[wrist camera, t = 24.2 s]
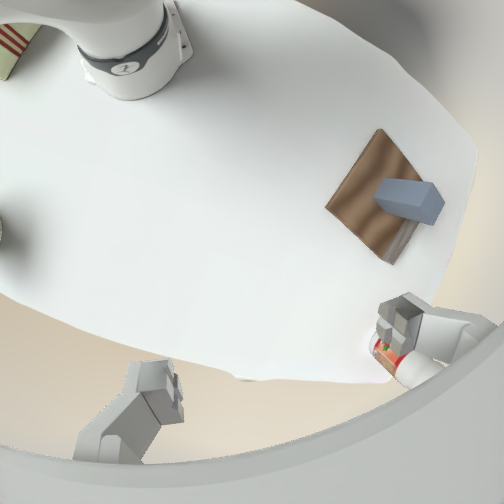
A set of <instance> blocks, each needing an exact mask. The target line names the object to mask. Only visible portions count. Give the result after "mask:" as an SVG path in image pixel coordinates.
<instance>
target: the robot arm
mask: <svg viewBox="0 0 504 504" xmlns="http://www.w3.org/2000/svg"><path fill="white" fill-rule="evenodd" d="M8 23H35V24H42V25H47V26H51V27H55V28H57V29H60V30H61V31H63V32H64V33H66V34H67V35H68V36H69V37H70V38H71V39H72V40H73V41H74V42H75V43H76V44H77V46H78V49H79V51H80V53H81V55H82V57H83V58H82V59H81V63H82V65H83V67H84V68H85V70H86V72H85V79H86V81H87V82H88V83H91V84H94V85H98V86H100V87H101V88H102V89H103V90H104V91H105V92H106V93H107V94H108V95H110V96H112V97H114V98H117V99H121V100H136V99H140V98H144V97H147V96H149V95H151V94H153V93H155V92H157V91H158V90H160V89H161V88H162V87H164V86H165V85H166V84H167V83H168V82H169V81H170V80H171V78H172V77H173V76H174V74H175V72H176V71H177V69H178V68H179V66H180V65H181V64H183V63H184V62H186V61H187V60H188V59H189V58H191V56H192V55H193V49H192V46H191V44H190V41H189V38H188V36H187V33H186V31H185V28H184V26H183V23H182V21H181V18H180V16H179V13H178V11H177V8H176V6H175V3H174V1H173V0H0V25H2V24H8ZM183 46H186V48H182V47H183ZM378 313H379V315H380V318H379V319H378V321H377V327H376V329H377V333H378V336H379V338H380V339H381V340H382V341H383V342H384V343H388V344H390V349H391V350H392V351H393V352H394V353H395V354H396V355H397V356H398V357H401V356H403V355H405V354H407V353H409V352H411V351H413V350H415V351H416V352H418V353H421V354H423V355H426V356H429V357H431V358H434V359H437V360H439V361H442V362H445V363H447V364H450V365H449V366H448V367H446V368H444V369H443V370H441V371H440V372H438V373H437V374H435V375H434V376H432V377H431V378H429V379H428V380H426V381H424V382H423V383H421V384H419V385H418V386H416V387H414V388H413V389H411V390H409V391H407V392H406V393H404V394H402V395H400V396H398V397H397V398H395V399H393V400H391V401H389V402H387V403H385V404H383V405H381V406H379V407H377V408H375V409H373V410H371V411H369V412H367V413H364V414H362V415H360V416H358V417H355V418H353V419H351V420H348V421H346V422H344V423H341V424H338V425H336V426H333V427H331V428H328V429H325V430H323V431H320V432H317V433H315V434H311V435H309V436H305V437H302V438H299V439H296V440H293V441H289V442H286V443H282V444H279V445H275V446H271V447H267V448H263V449H260V450H255V451H250V452H246V453H241V454H236V455H231V456H225V457H219V458H213V459H205V460H198V461H188V462H178V463H163V464H144V463H143V462H142V461H141V459H142V457H143V455H144V454H145V452H146V451H147V449H148V447H149V446H150V444H151V443H152V441H153V440H154V438H155V436H156V435H157V433H158V431H159V430H160V428H161V425H167V424H176V423H182V422H184V410H183V406H182V405H181V401H182V400H183V392H182V387H181V383H180V380H179V377H178V375H177V374H175V373H174V366H173V363H172V361H171V359H170V358H163V359H156V360H147V361H139V362H131V363H129V365H128V368H127V373H126V377H125V382H124V387H123V392H122V394H118V395H117V396H116V397H115V398H114V399H113V400H112V401H111V402H110V403H109V404H108V405H107V406H106V407H105V408H104V409H103V410H102V411H101V412H100V413H99V414H98V415H97V416H96V417H95V418H94V419H93V420H92V421H91V422H90V423H89V424H88V425H86V427H84V428H83V429H82V430H81V431H80V432H79V434H78V438H77V442H76V447H75V451H74V456H73V460H69V459H61V458H56V457H50V456H45V455H40V454H35V453H31V452H27V451H23V450H19V449H16V448H12V447H9V446H6V445H3V444H0V504H504V322H503V323H502V324H500V325H499V326H497V325H495V324H494V323H492V322H491V321H489V320H488V319H486V318H485V317H483V316H482V315H479V314H473V313H467V312H462V311H455V310H450V309H445V308H439V307H435V308H433V307H431V306H430V305H429V304H427V303H426V302H424V301H423V300H421V299H420V298H418V297H417V296H415V295H414V294H412V293H406V294H403V295H401V296H399V297H397V298H394V299H392V300H389V301H386V302H384V303H381V304H380V306H379V309H378Z"/></svg>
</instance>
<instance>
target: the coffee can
mask: <svg viewBox="0 0 504 504" xmlns="http://www.w3.org/2000/svg"><path fill="white" fill-rule="evenodd" d="M1 238H2V223H1V219H0V243H1Z"/></svg>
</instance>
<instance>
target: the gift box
mask: <svg viewBox="0 0 504 504" xmlns="http://www.w3.org/2000/svg"><path fill="white" fill-rule="evenodd" d="M41 25H42V24H35V23H8V24H2V25H0V79H1V80H4V81H5V80H6V79H7V77H8V75H9V74H10V72H11V70H12V68H13V67H14V65H15V63H16V62H17V60H18V59H19V57H20V56H21V54H22V52H23V51H24V49H25V48H26V46H27V45H28V43H29V42H30V40H31V39H32V38H33V36H34V35H35V33H36V32H37V31H38V29H39V28H40V27H41Z"/></svg>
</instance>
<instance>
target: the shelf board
mask: <svg viewBox="0 0 504 504" xmlns="http://www.w3.org/2000/svg"><path fill="white" fill-rule="evenodd" d="M384 178H393V179H404V180H413V181H422V179H421V178H420V176H419V175H418V174H417V172H416V171H415V169H414V168H413V167H412V165H411V164H410V163H409V161H408V160H407V159H406V158H405V156H404V155H403V154H402V152H401V151H400V150H399V149H398V147H397V146H396V145H395V144H394V143H393V141H392V140H391V139H390V138H389V137H388V135H387V134H386V133H385V132H384V131H383V130H382V129H378V130H377V131H376V132H375V134H374V135H373V137H372V138H371V140H370V142H369V143H368V145H367V146H366V148H365V149H364V151H363V152H362V154H361V155H360V157H359V158H358V160H357V161H356V163H355V164H354V166H353V167H352V169H351V170H350V172H349V173H348V175H347V176H346V178H345V179H344V181H343V182H342V183H341V185H340V186H339V188H338V189H337V191H336V192H335V194H334V195H333V197H332V198H331V199H330V201H329V202H328V204H327V205H326V207H325V208H326V209H327V210H328V211H330V212H331V213H332V214H333V215H334V216H335V217H336V218H337V219H339V220H340V221H341V222H342V223H343V224H344V225H345V226H346V227H347V228H348V229H349V230H351V231H352V232H353V233H354V234H355V235H356V236H357V237H358V238H359V239H360V240H361V241H362V242H363V243H364V244H365V245H367V246H368V247H369V248H370V249H371V250H372V251H373V252H374V253H375V254H376V255H377V256H378V257H379V258H380V259H382V260H384V261H386V262H388V263H390V264H392V265H394V263H395V261H396V260H397V258H398V257H399V255H400V254H401V252H402V250H403V249H404V247H405V246H406V244H407V242H408V241H409V239H410V237H411V236H412V234H413V232H414V230H415V229H416V227H417V225H418V224H419V222H418V221H414V220H411V219H407V218H403V217H400V216H396V215H392V214H388V213H386V212H385V211H384V210H383V209H382V208H381V207H380V205H379V204H378V203H377V202H376V201H375V200H374V199H373V198H372V196H373V195H374V193H375V192H376V190H377V189H378V187H379V185H380V184H381V182H382V181H383V179H384ZM422 182H423V181H422Z"/></svg>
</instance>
